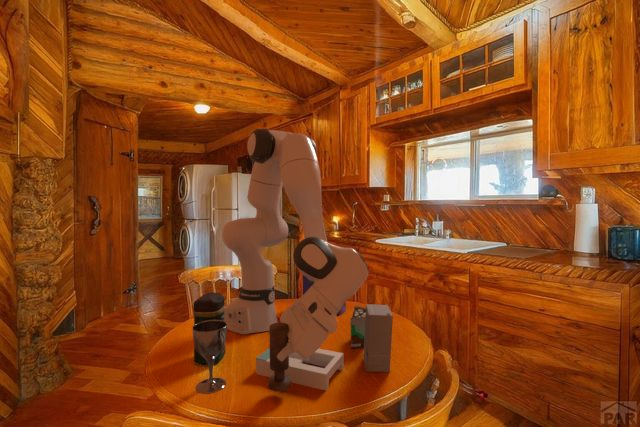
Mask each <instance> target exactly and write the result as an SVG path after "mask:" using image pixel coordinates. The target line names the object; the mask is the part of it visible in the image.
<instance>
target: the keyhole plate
mask: <svg viewBox="0 0 640 427" xmlns="http://www.w3.org/2000/svg"><path fill="white" fill-rule="evenodd" d="M344 356H345V355H344V353H343V352H339V351H338V352H337V351H335V350H334V351H333V350H328V349H321V348H318V349H317V350H316V351H315V352H314V353H313V354H312V355H311V356H310V357H308V358H306V359H304V358H302V357H301V356H300V355H299V354H297V353H296V352H294V353H293V354H291V355H289V368H288V369H286V370H285V374H287V375H289V376H290V378H291V384H292V383H293V384H297V385H301V386H305V387H309V388H314V389H318V390H321V391H325V392H327V391H328V390H329V388H330V387H329V386H330V378H332V376H333V375H334V374H335V373H336V371H337V370H339V371H343V370H344V368H345V367H344V366H345V360H344V359H345V357H344ZM310 364H311V365H310ZM255 374H256V375H259V376H264V377H267V378H269V377H270V376H272V375H274V371H273V370H271V369H270V347H269V348H267V349H266V350H265V351H263V352H262V353H260V354H259V355H258V356H256V358H255Z"/></svg>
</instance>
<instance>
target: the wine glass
mask: <svg viewBox="0 0 640 427" xmlns="http://www.w3.org/2000/svg"><path fill="white" fill-rule="evenodd" d="M227 331H228V330H227V324H226V322H225V321H222V320H207V321H202V322H199V323H197V324H195V325H194V324H193V326H192V341H193V346H194V345H195V349H196V351H197V352H198V353H199V354H200V355H201V356H202V357H203V358H204V359H205V360H206V361H207V363H208V365H207V367H208V376H209V378H205V379H202V380H201V381H199V382H198V383H197V384H196V385H195V386H196V387H195V390H196V392H197V393H200V394H203V395H204V394H206V393H207V394H213V393H217V392H219V390H220V391H222V390H223V389H224V388H225V387H226V385H227V381H226V379H224V378H222V377H214V376H213V374H214V373H213V372H214V371H213V370H214V361H215V359H216V357H217V356H218V354H219V353H220V352H221V351H222V349H223V348H224V345H225V346H226V340H227Z"/></svg>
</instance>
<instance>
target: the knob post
mask: <svg viewBox="0 0 640 427" xmlns="http://www.w3.org/2000/svg"><path fill="white" fill-rule="evenodd" d="M288 331H289V325H288V324H286V323H281V322H278V323H274V324H271V325H270V330H269V348H270V369H271V370H273V371H274V375H272V376H270V377H268V379H267V381H268V383H267V384H268V385H267V387H268V389H269V390H270V391H273V392H283V391H287V390H288V389H290V387H291V384H292V382H291V378H290V376H289V375H287V374H285V370H286V369H288V368H289V356H287V357H286V358H285V359H284V360H283V361H280V360H279V359H278V358H277V356H276V353H277V352H278V351H279V350H280V349H283V348H284V347H286V346H287V343H288V342H289V341H290V340H289V338H288V336H287V334H288Z"/></svg>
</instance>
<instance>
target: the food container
mask: <svg viewBox="0 0 640 427" xmlns="http://www.w3.org/2000/svg"><path fill="white" fill-rule="evenodd" d="M365 319H366V307H364V306H359V305H358V306H357V305H354V310H353V312H352V317H350V323H349V324H350V349H351V350H361V349H364V337H365Z"/></svg>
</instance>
